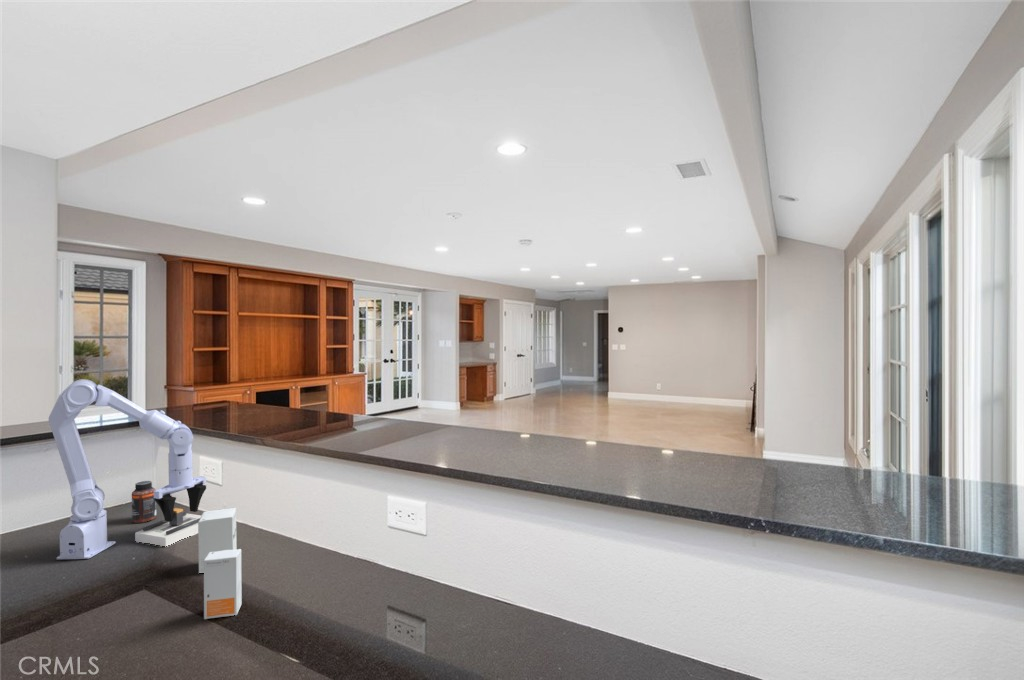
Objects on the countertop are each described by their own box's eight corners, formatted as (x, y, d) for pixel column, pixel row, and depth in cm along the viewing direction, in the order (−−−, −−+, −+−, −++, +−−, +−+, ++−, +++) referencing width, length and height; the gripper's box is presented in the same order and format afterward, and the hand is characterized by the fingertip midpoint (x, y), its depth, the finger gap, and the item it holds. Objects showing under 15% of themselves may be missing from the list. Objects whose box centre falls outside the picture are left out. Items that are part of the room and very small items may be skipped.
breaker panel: (165, 547, 134) (165, 534, 134) (135, 541, 138) (135, 529, 138) (214, 526, 149) (214, 514, 149) (186, 521, 152) (185, 510, 152)
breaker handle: (177, 525, 142) (177, 511, 142) (169, 524, 143) (168, 510, 143) (183, 523, 144) (183, 509, 144) (175, 522, 145) (175, 507, 144)
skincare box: (203, 620, 101) (202, 560, 100) (210, 609, 105) (209, 551, 105) (237, 615, 102) (236, 556, 102) (242, 604, 107) (241, 547, 106)
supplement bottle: (161, 516, 156) (160, 479, 156) (145, 524, 150) (144, 485, 150) (143, 515, 157) (142, 479, 157) (126, 523, 151) (126, 485, 151)
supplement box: (233, 569, 122) (232, 517, 122) (197, 575, 119) (196, 521, 119) (237, 556, 129) (236, 506, 129) (203, 561, 126) (202, 510, 126)
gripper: (166, 476, 136) (167, 527, 137) (213, 462, 150) (214, 508, 150) (147, 474, 138) (148, 524, 139) (195, 460, 152) (196, 506, 153)
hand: (181, 515), depth 145 cm, fingers open, 7 cm apart
